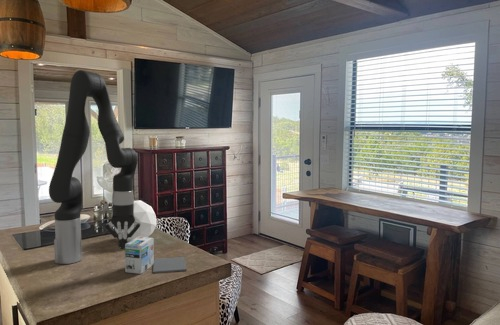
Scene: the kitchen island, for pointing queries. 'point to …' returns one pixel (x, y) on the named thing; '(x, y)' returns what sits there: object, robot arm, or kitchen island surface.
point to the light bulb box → (139, 255)
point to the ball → (142, 220)
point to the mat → (169, 265)
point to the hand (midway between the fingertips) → (123, 248)
